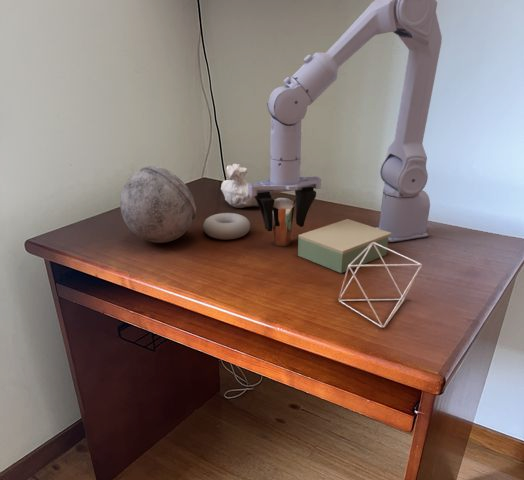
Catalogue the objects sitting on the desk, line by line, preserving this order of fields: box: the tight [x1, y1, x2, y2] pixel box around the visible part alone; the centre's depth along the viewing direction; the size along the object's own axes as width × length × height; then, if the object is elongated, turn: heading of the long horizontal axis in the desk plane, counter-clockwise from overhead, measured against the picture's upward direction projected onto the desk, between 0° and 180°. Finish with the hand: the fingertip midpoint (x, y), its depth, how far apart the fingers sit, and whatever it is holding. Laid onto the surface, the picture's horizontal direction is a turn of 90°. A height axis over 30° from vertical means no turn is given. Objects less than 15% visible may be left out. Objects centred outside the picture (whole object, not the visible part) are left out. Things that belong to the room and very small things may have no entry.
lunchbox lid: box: [298, 218, 391, 254], centre depth 104 cm, size 14×11×1 cm
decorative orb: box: [119, 165, 197, 244], centre depth 109 cm, size 15×14×15 cm
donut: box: [202, 212, 251, 241], centre depth 116 cm, size 10×4×10 cm
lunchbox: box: [297, 237, 389, 274], centre depth 105 cm, size 13×11×4 cm
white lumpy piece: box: [220, 163, 259, 209], centre depth 130 cm, size 12×8×11 cm
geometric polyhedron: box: [338, 242, 423, 329], centre depth 85 cm, size 12×11×9 cm
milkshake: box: [272, 196, 297, 247], centre depth 109 cm, size 4×5×10 cm
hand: (284, 227), depth 110 cm, fingers open, 6 cm apart
